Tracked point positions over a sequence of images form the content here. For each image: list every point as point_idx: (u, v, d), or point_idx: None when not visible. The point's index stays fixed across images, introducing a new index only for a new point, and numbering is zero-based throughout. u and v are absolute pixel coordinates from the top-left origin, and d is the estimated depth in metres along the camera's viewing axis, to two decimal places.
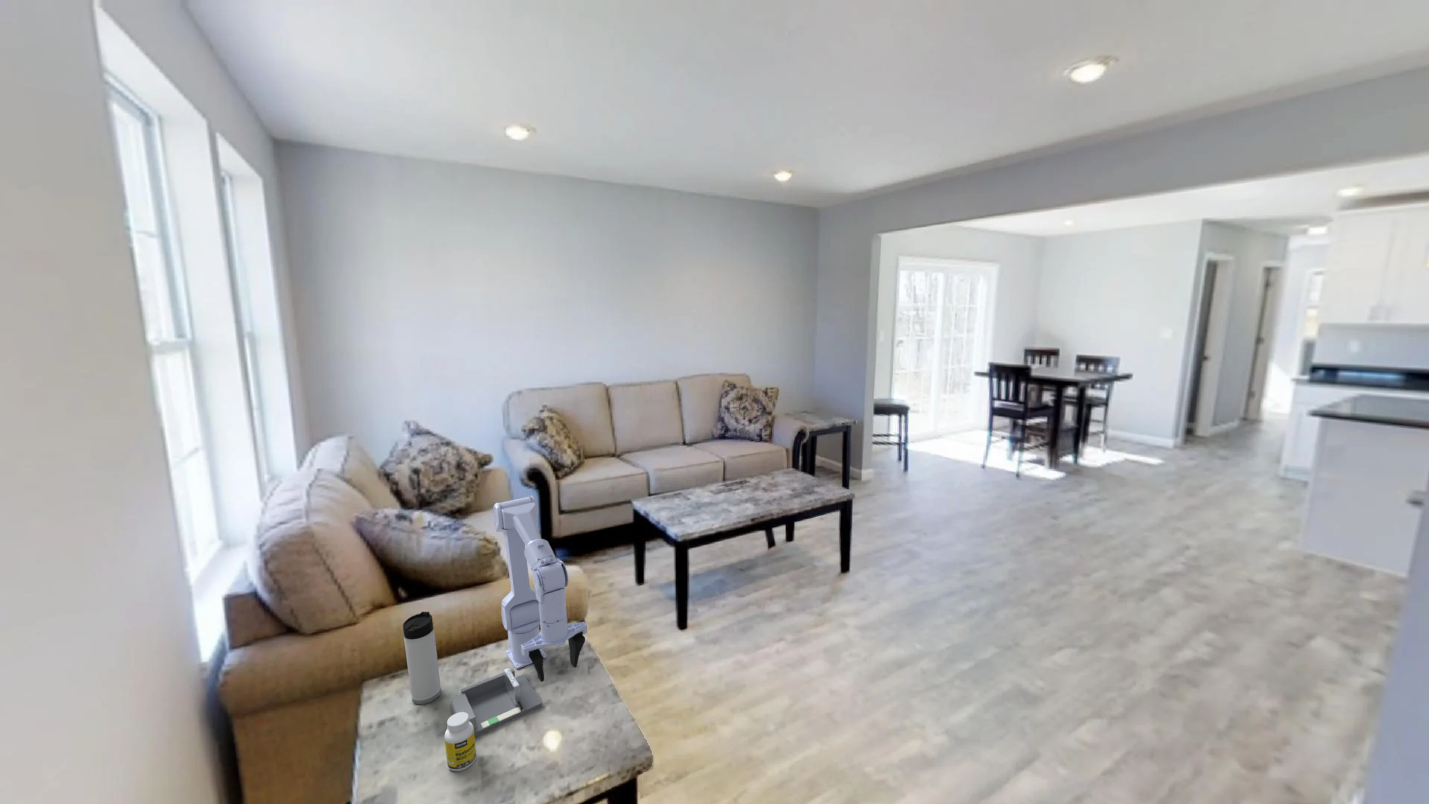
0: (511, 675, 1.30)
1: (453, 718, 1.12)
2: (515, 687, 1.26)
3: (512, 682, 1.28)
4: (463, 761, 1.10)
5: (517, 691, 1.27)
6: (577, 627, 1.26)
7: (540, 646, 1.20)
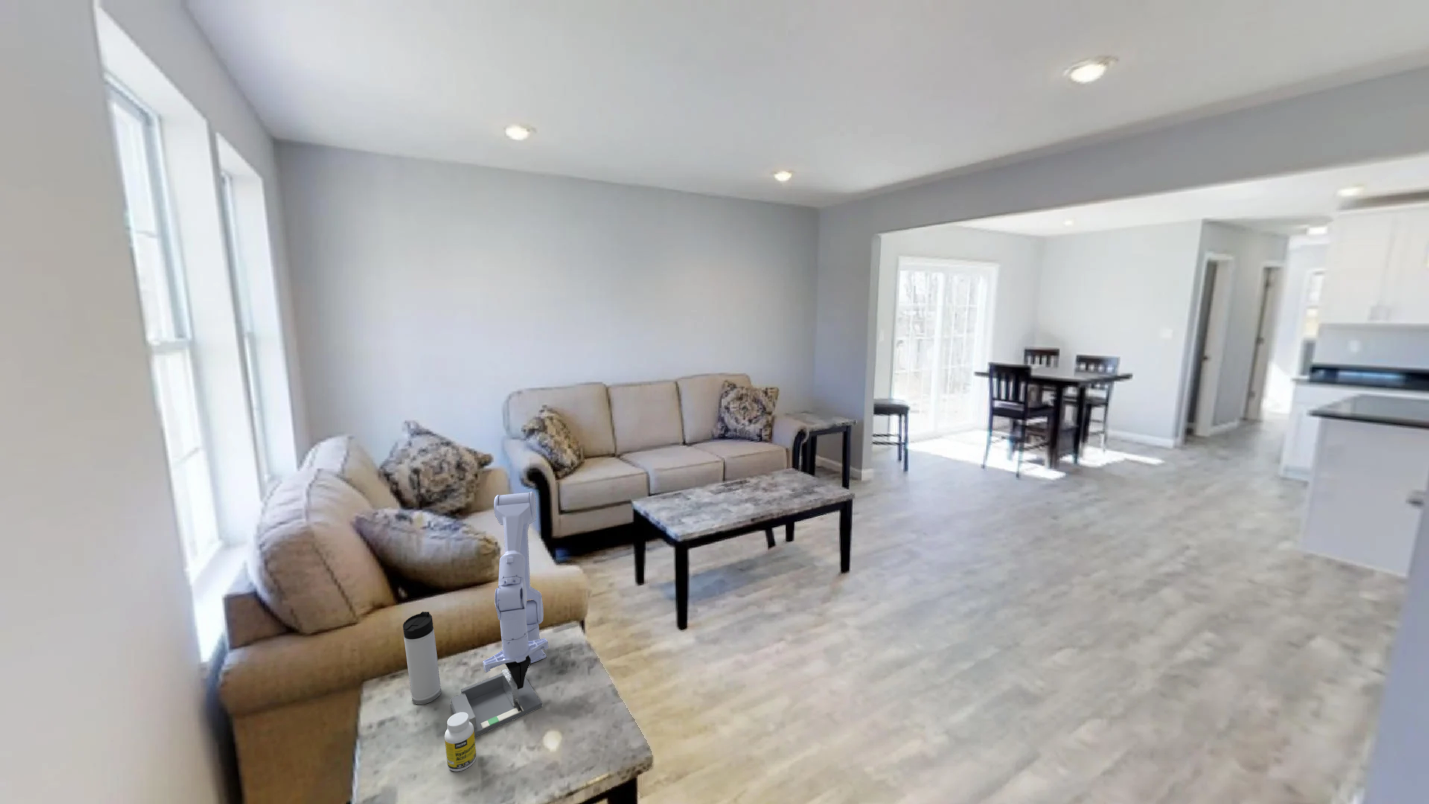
0: (509, 676, 1.30)
1: (453, 718, 1.12)
2: (513, 688, 1.26)
3: (510, 683, 1.27)
4: (463, 761, 1.10)
5: (515, 692, 1.26)
6: (538, 643, 1.33)
7: (501, 662, 1.26)
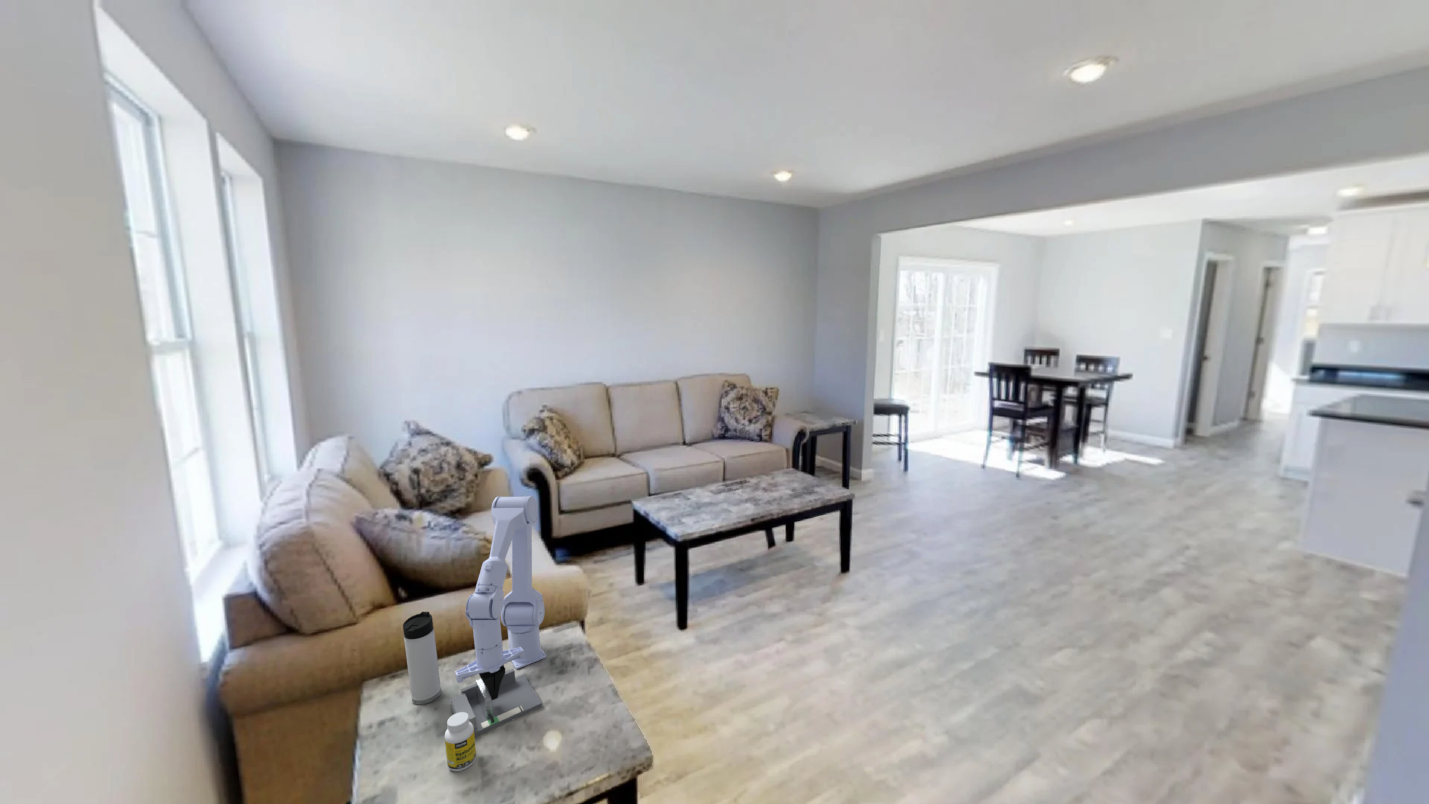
0: (483, 686, 1.27)
1: (453, 718, 1.12)
2: (486, 699, 1.23)
3: (483, 694, 1.24)
4: (463, 761, 1.10)
5: (488, 703, 1.23)
6: (513, 652, 1.29)
7: (474, 672, 1.22)
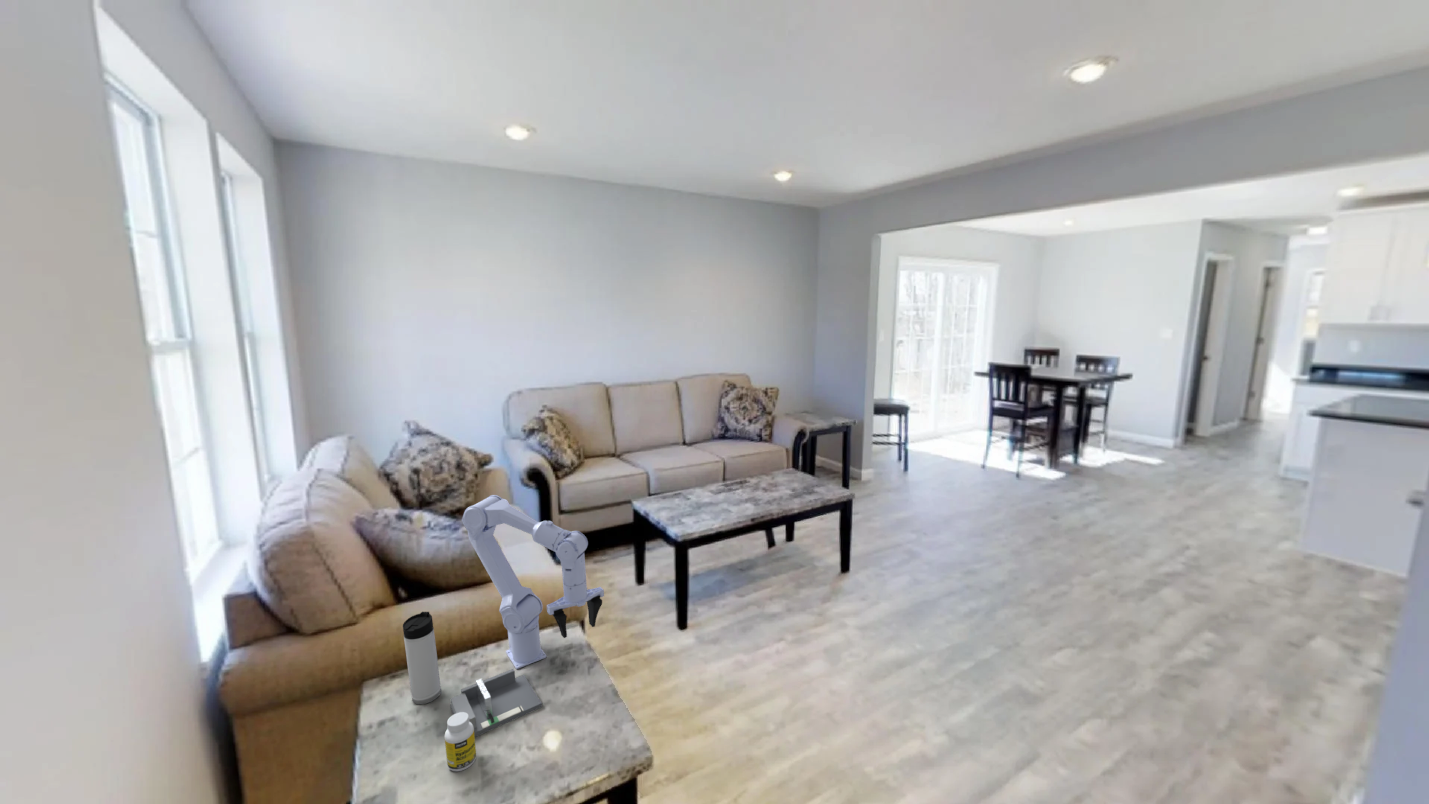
0: (483, 686, 1.27)
1: (453, 718, 1.12)
2: (486, 699, 1.23)
3: (483, 694, 1.24)
4: (463, 761, 1.10)
5: (488, 703, 1.23)
6: (595, 591, 1.44)
7: (563, 606, 1.37)
